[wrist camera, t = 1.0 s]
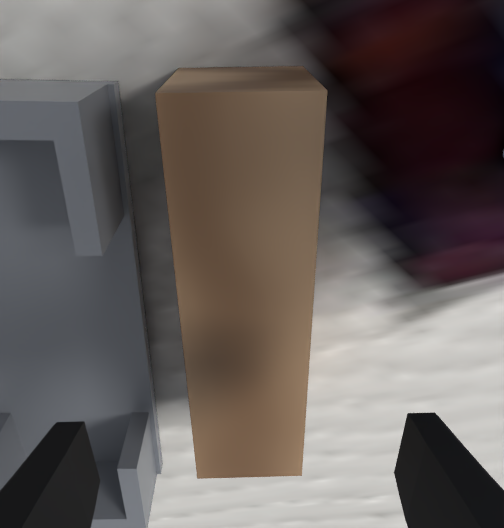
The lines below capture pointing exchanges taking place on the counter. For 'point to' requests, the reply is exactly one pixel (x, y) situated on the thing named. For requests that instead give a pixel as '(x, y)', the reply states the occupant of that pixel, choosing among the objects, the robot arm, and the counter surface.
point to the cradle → (74, 291)
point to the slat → (244, 256)
